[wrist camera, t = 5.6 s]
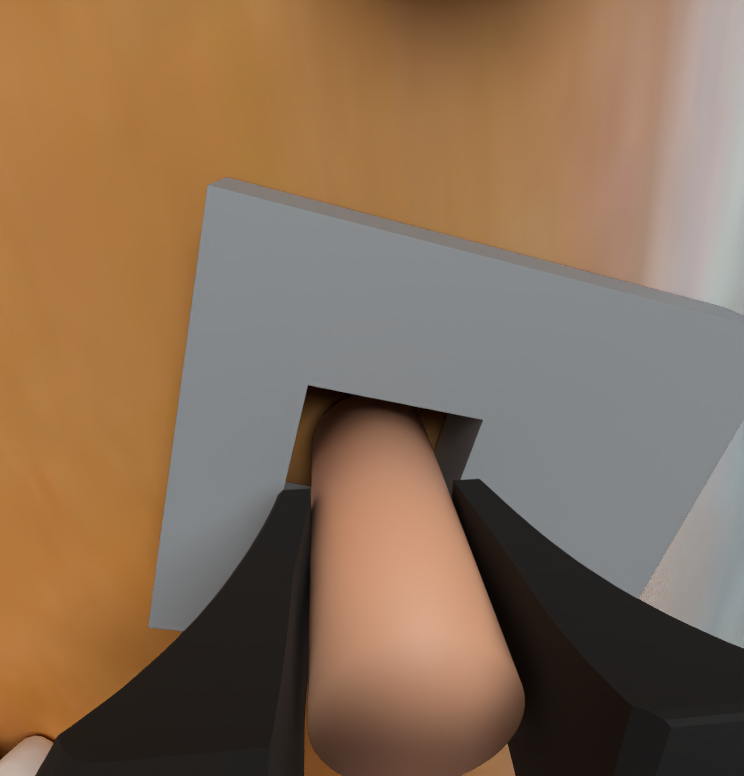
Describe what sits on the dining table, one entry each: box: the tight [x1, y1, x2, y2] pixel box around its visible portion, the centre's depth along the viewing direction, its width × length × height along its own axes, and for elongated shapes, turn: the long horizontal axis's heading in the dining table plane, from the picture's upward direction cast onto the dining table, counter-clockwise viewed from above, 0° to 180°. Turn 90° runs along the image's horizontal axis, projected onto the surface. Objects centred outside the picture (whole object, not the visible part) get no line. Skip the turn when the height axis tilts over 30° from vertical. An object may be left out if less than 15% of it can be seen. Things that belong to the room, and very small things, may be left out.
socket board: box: [148, 177, 744, 631], centre depth 15 cm, size 14×12×2 cm
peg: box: [307, 395, 525, 776], centre depth 12 cm, size 3×3×8 cm
